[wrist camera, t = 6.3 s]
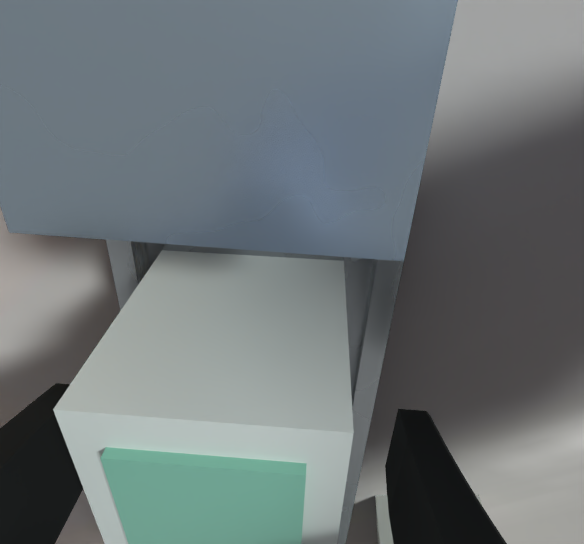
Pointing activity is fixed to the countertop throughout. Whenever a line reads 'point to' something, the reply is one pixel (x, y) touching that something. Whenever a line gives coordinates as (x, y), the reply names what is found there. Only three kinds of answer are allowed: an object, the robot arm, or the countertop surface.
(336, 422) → the block
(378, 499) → the block
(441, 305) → the countertop surface
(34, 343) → the countertop surface
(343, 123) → the rail
